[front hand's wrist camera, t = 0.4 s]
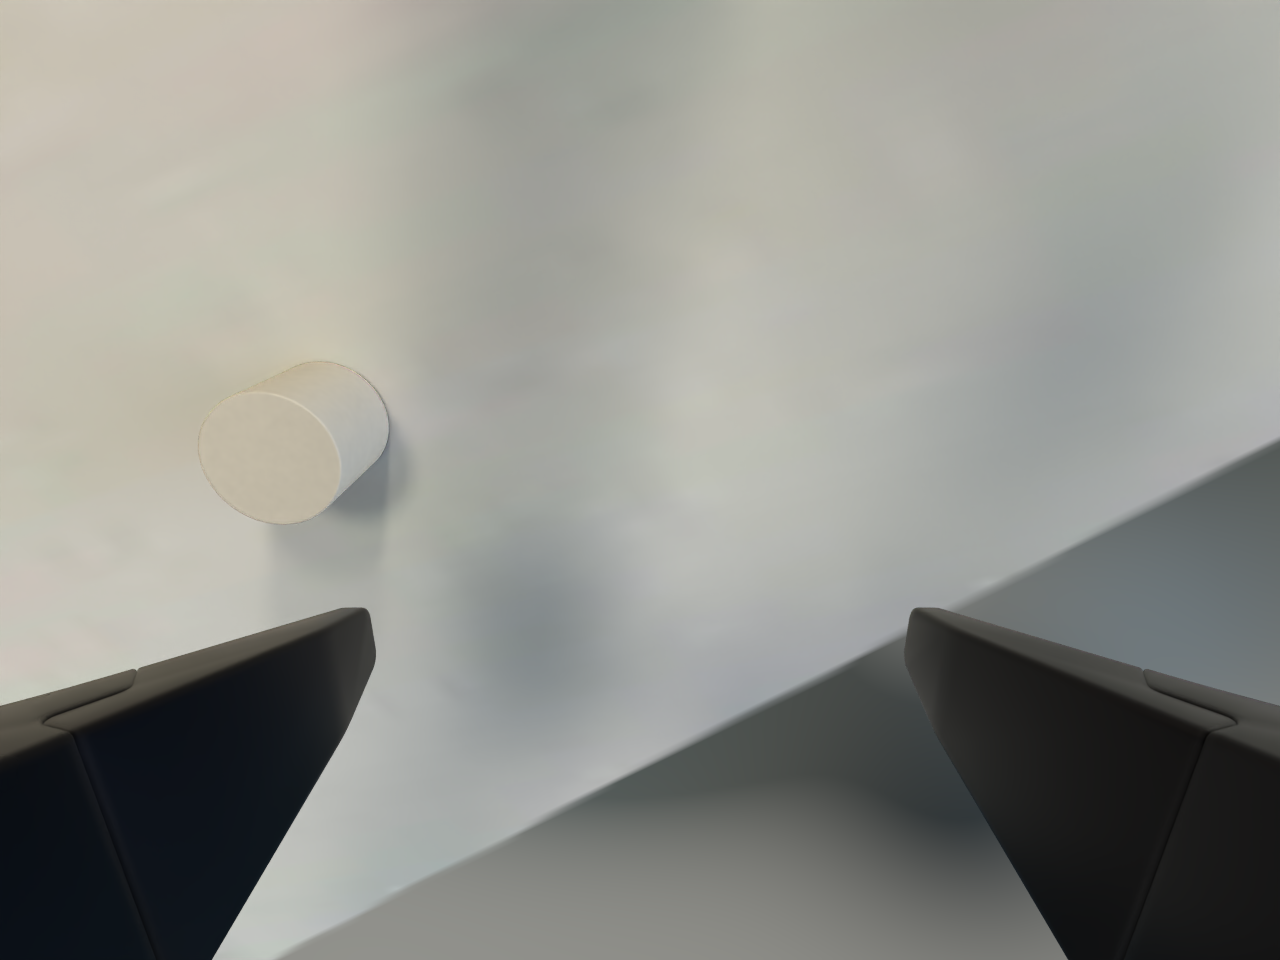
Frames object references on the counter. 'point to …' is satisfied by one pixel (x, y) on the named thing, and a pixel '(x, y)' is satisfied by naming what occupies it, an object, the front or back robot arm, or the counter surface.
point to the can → (293, 442)
